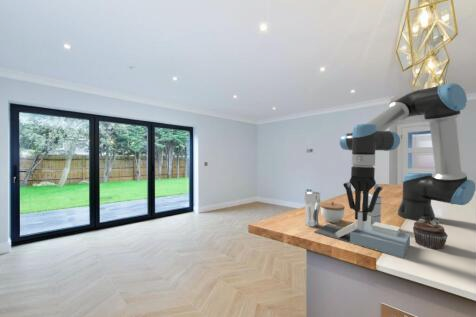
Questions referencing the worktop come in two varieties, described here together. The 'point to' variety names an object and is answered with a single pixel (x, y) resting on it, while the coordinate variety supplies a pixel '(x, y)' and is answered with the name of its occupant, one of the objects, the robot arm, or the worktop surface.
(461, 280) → the worktop surface
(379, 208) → the syrup box
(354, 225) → the front tile
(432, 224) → the cupcake
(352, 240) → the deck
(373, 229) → the rear tile
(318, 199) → the beer glass
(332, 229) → the mat
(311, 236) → the worktop surface
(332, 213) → the lidded jar
